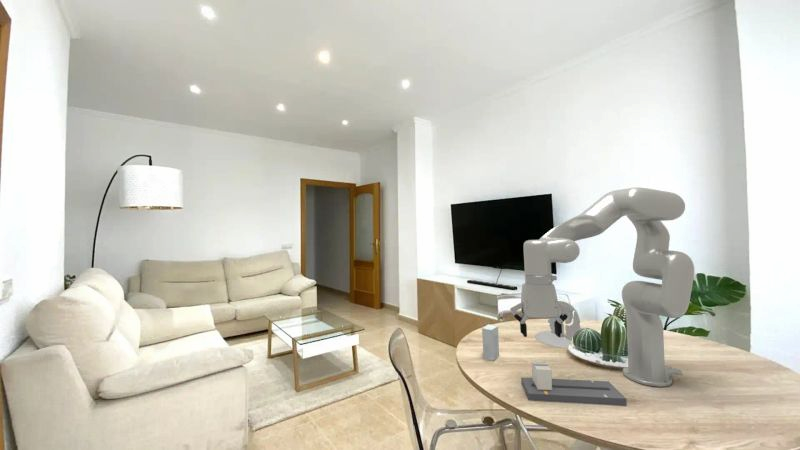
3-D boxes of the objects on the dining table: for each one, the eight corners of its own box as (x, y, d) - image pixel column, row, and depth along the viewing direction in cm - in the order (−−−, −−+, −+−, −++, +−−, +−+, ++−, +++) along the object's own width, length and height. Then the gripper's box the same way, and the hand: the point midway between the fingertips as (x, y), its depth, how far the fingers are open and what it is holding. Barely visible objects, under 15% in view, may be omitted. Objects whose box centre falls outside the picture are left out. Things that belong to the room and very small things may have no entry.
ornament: (587, 347, 129) (585, 307, 130) (562, 352, 125) (560, 310, 125) (546, 331, 150) (545, 296, 150) (524, 335, 146) (523, 299, 146)
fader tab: (546, 380, 98) (545, 360, 98) (552, 390, 92) (551, 369, 92) (532, 379, 99) (531, 360, 99) (537, 389, 93) (536, 368, 93)
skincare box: (489, 353, 126) (488, 323, 126) (499, 356, 123) (498, 325, 123) (482, 358, 121) (481, 327, 121) (493, 361, 118) (492, 329, 118)
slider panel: (608, 387, 97) (608, 380, 97) (626, 405, 87) (626, 398, 87) (521, 383, 101) (521, 376, 101) (528, 400, 91) (528, 393, 91)
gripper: (563, 277, 98) (566, 331, 98) (506, 278, 101) (509, 331, 101) (573, 281, 91) (576, 340, 91) (511, 282, 93) (514, 339, 93)
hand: (541, 335), depth 96 cm, fingers open, 9 cm apart
